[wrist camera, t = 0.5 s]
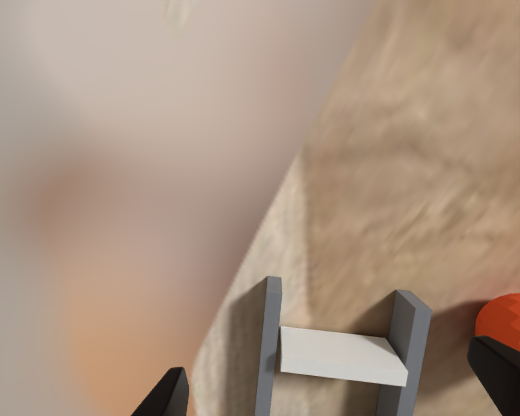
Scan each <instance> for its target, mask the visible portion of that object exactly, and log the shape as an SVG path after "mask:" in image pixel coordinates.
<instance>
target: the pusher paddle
mask: <svg viewBox="0 0 520 416" xmlns="http://www.w3.org/2000/svg"><path fill="white" fill-rule="evenodd" d="M280 369H281V372H289V373H297V374H305V375H313V376H322V377H330V378H338V379H346V380H355V381H363V382H371V383H380V384H388V385H396V386H404V387H406V382H407V376H408V371H407V369H406V368H405V366H404V365H403V363H402V362H401V360H400V359H399V357H398V356H397V354H396V353H395V351H394V350H393V348H392V347H391V346H390V344H389V343H388V341H387V340H386V338H381V337H372V336H364V335H355V334H346V333H337V332H328V331H319V330H311V329H302V328H293V327H284V326H281V330H280Z"/></svg>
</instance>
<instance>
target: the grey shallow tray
mask: <svg viewBox="0 0 520 416" xmlns="http://www.w3.org/2000/svg"><path fill="white" fill-rule="evenodd" d="M281 300H282V283H281V277H271V276H268V278H267V288H266V299H265V310H264V320H263V331H262V341H261V352H260V362H259V373H258V384H257V394H256V405H255V415H254V416H270V407H271V397H272V387H273V378H274V368H275V358H276V349H277V339H278V329H279V320H280V310H281ZM431 314H432V309H430V308H429V307H428V306H427V305H426V304H425V303H424V302H422V301H421V300H420V299H419V298H418V297H417V296H415V295H414V294H413V293H412V292H411V291H405V290H396V294H395V300H394V307H393V313H392V319H391V325H390V331H389V337H388V343H389V344H390V346H391V347H392V348H393V350H394V351H395V353H396V354H397V356H398V357H399V359H400V360H401V362H402V363H403V365H404V366H405V368H406V369H407V371H408V376H407V382H406V387H404V386H396V385H388V384H381V386H380V392H379V398H378V404H377V410H376V416H413V411H414V406H415V400H416V395H417V390H418V384H419V379H420V374H421V368H422V363H423V357H424V352H425V347H426V341H427V336H428V330H429V325H430V320H431Z"/></svg>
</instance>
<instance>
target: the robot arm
mask: <svg viewBox="0 0 520 416" xmlns="http://www.w3.org/2000/svg"><path fill="white" fill-rule="evenodd" d="M467 359H468V362H469V365H470V366H471V368H472V370H473V371H474V373H475V374H476V376H477V377H478V379H479V380H480V382H481V383H482V385H483V387H484V388H485V390H486V391H487V393H488V394H489V396H490V397H491V399H492V400H493V402H494V404H495V405H496V407H497V408H498V410H499V411H500V413H501V414H502V416H520V351H518V350H516V349H514V348H511V347H509V346H507V345H505V344H503V343H501V342H499V341H497V340H495V339H493V338H491V337H489V336H486V335H479V336H472V337H471V338H470V341H469V347H468V353H467ZM188 397H189V385H188V381H187V377H186V373H185V369H184V368H183V367H174V368H171V369H169V370H168V371H167V373H166V374H165V375H164V376H163V377H162V379H161V380H160V381H159V382H158V383H157V385H156V386H155V387H154V388H153V389H152V391H151V392H150V393H149V394H148V395H147V397H146V398H145V399H144V400H143V401H142V403H141V404H140V405H139V406H138V407H137V409H136V410H135V411H134V412H133V414H132V415H131V416H186V412H187V405H188Z"/></svg>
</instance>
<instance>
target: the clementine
mask: <svg viewBox="0 0 520 416" xmlns="http://www.w3.org/2000/svg"><path fill="white" fill-rule="evenodd" d="M479 335H486V336H489V337H491V338H493V339H495V340H497V341H499V342H501V343H503V344H505V345H507V346H509V347H511V348H514V349H516V350H518V351H520V293H515V294H508V295H504V296H501V297H498V298H495V299H493V300H492V301H490V302H488V303H487V304H486V305H485V306H484V307H483V308H482V309H481V310H480V312H479V313H478V316H477V319H476V324H475V336H479Z"/></svg>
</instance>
